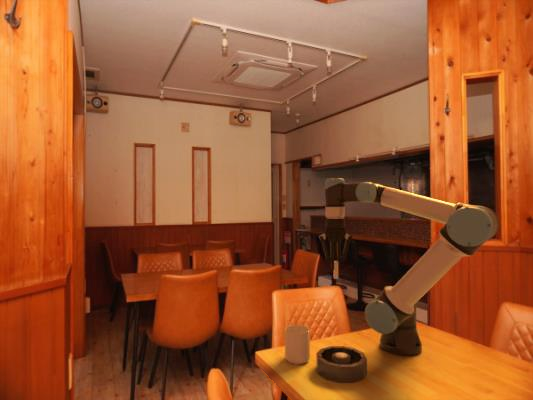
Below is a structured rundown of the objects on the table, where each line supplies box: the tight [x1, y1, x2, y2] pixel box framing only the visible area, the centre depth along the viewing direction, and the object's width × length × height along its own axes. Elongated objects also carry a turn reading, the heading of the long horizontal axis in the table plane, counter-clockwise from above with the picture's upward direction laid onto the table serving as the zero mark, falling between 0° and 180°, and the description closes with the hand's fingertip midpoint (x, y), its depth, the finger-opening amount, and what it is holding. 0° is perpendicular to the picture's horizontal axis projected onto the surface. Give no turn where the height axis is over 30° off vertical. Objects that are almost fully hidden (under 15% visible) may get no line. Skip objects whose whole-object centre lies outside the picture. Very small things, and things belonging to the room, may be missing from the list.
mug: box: [284, 324, 311, 365], centre depth 132 cm, size 12×9×11 cm
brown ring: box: [315, 345, 368, 384], centre depth 121 cm, size 16×16×5 cm
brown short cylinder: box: [332, 352, 350, 365], centre depth 121 cm, size 6×6×5 cm
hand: (335, 278), depth 142 cm, fingers closed
